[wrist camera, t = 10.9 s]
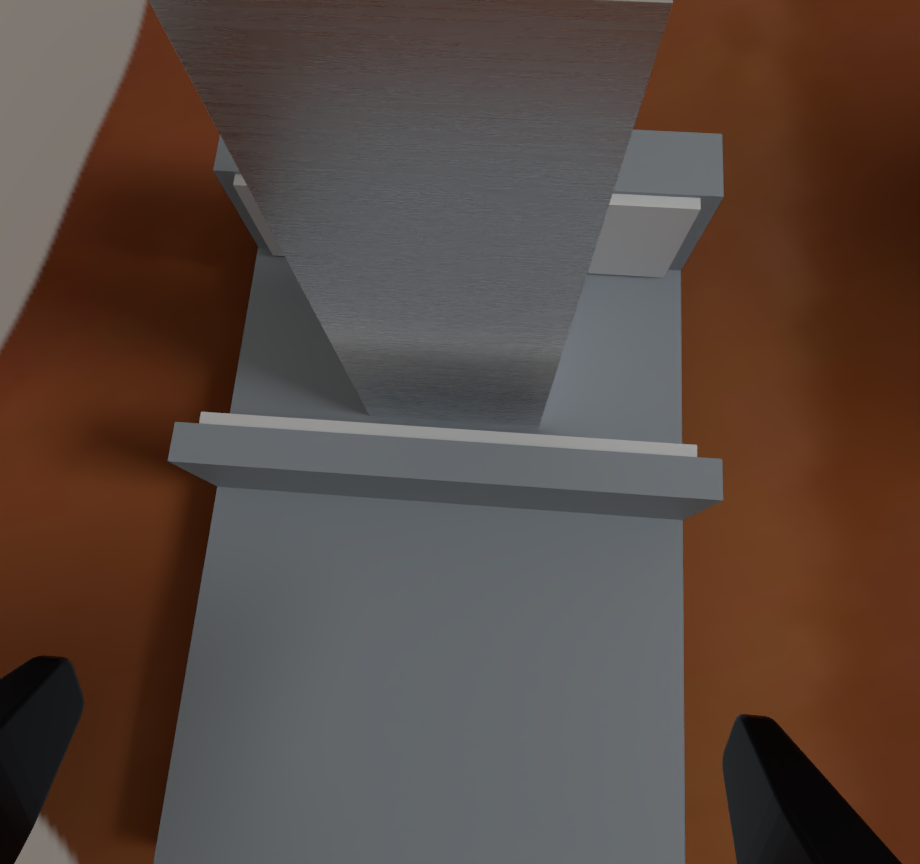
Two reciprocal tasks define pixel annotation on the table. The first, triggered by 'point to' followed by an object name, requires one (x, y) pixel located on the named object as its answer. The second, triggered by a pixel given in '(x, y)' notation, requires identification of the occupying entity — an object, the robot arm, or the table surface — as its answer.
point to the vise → (450, 583)
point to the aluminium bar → (430, 174)
